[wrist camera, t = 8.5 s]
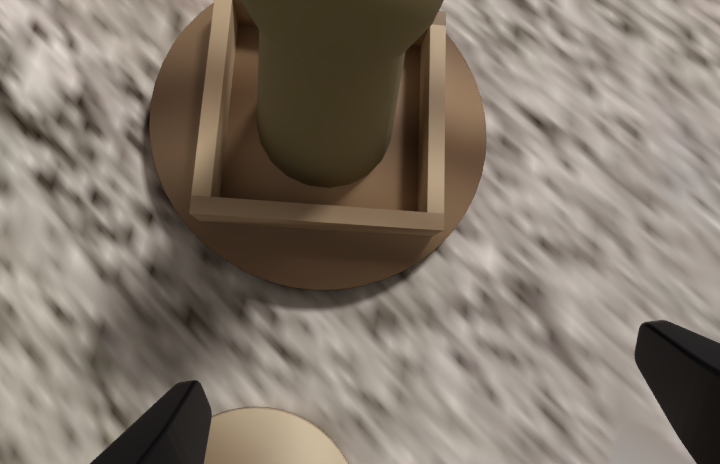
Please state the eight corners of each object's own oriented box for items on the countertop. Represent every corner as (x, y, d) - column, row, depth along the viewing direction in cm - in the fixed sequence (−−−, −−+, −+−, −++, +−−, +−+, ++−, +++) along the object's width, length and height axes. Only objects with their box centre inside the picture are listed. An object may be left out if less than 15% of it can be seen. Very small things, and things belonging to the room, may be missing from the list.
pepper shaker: (228, 108, 18) (114, -173, 7) (335, 36, 19) (371, -294, 9) (314, 215, 18) (324, 82, 7) (418, 136, 19) (561, -80, 8)
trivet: (478, 298, 19) (505, 297, 17) (135, 281, 18) (107, 277, 15) (476, 8, 22) (499, -31, 19) (178, -32, 20) (160, -80, 18)
